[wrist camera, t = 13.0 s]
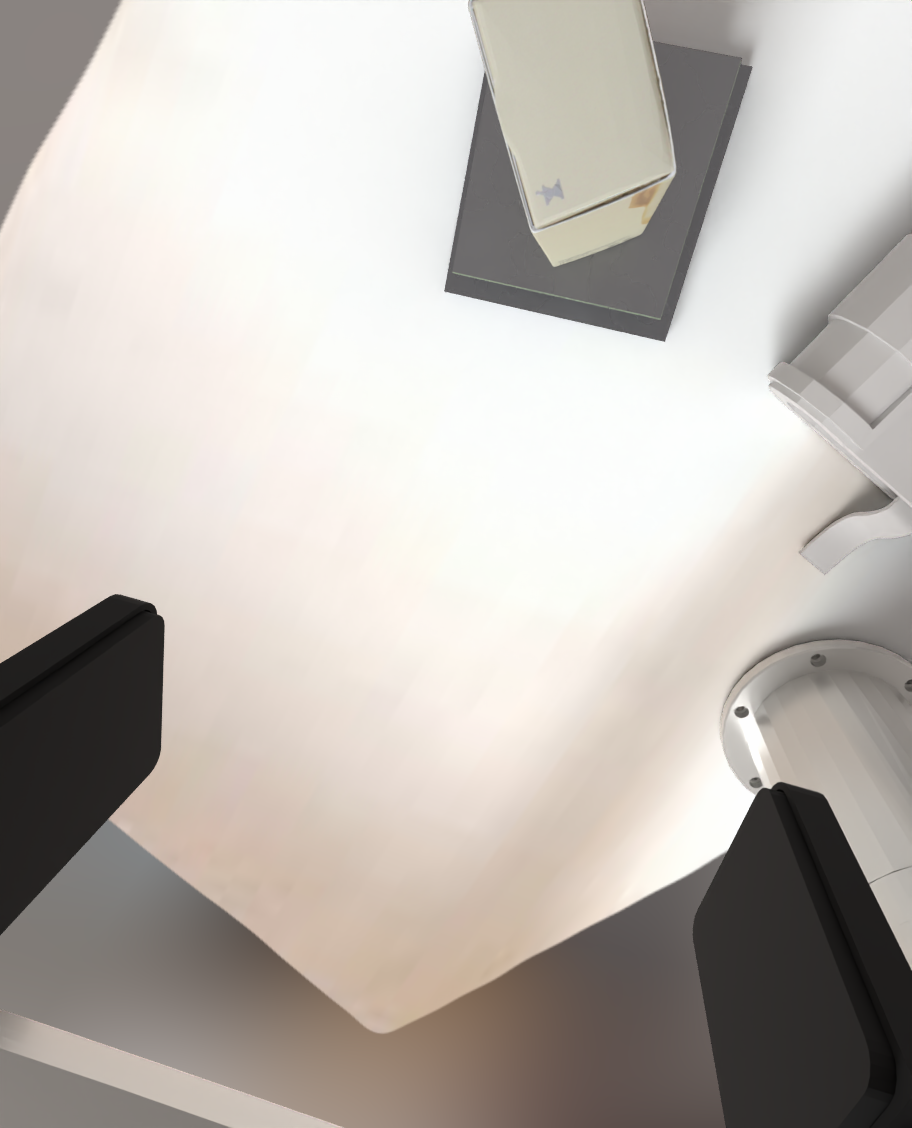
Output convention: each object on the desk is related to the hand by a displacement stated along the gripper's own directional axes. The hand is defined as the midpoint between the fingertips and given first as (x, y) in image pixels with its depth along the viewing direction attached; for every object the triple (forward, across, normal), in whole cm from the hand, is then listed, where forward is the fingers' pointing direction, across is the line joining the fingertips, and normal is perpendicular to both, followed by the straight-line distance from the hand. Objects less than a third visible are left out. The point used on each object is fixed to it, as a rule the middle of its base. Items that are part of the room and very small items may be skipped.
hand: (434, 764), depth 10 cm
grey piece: (+30, +1, -12) cm, 33 cm away
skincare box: (+26, +1, -12) cm, 28 cm away
